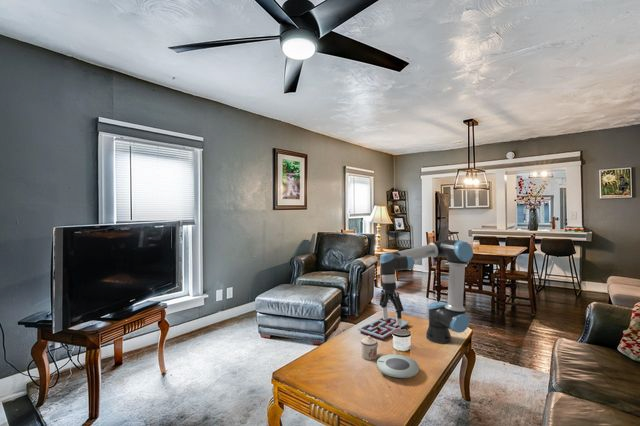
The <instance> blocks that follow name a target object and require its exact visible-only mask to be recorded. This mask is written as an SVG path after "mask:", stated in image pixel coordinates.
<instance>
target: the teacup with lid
mask: <svg viewBox="0 0 640 426" xmlns="http://www.w3.org/2000/svg"><path fill="white" fill-rule="evenodd" d="M360 343H361V345H360V346H361V358H362V359H364V360H368V361H373V360H376V359H377V357H378V350H377V349H378V345H379V343H378V341H377V339H375V337H372V336H369V335H367V337H363V338H362V339H361V341H360Z"/></svg>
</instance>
